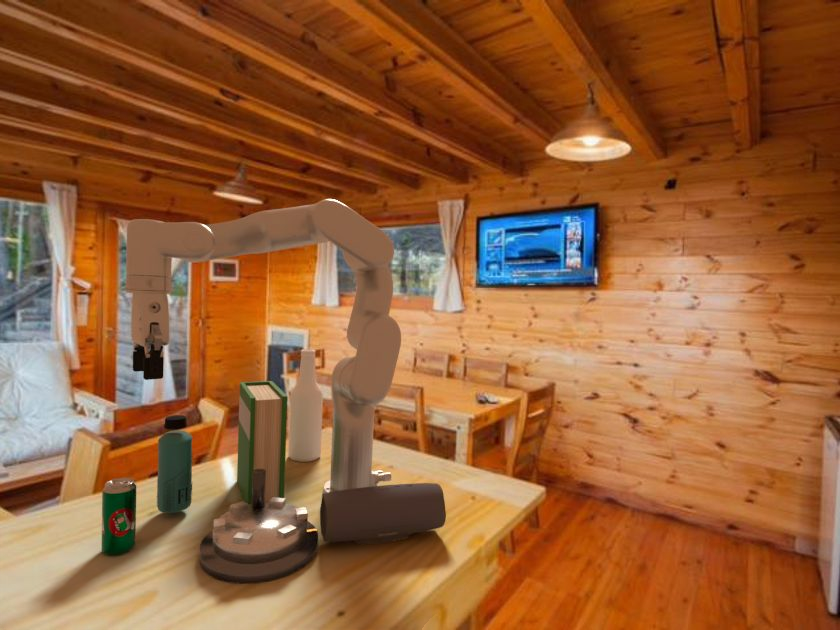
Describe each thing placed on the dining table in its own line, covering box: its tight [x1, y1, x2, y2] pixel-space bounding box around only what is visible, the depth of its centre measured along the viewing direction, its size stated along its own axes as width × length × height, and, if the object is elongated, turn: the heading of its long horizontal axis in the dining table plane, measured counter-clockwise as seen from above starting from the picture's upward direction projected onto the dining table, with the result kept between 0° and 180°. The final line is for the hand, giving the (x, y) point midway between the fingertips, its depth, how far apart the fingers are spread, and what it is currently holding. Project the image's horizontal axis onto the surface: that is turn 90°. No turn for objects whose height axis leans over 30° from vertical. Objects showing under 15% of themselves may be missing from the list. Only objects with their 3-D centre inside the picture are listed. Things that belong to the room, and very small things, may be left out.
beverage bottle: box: [156, 414, 194, 514], centre depth 99 cm, size 6×7×20 cm
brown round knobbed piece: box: [212, 469, 309, 563], centre depth 87 cm, size 16×16×10 cm
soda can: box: [100, 477, 137, 557], centre depth 85 cm, size 5×5×12 cm
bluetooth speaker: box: [319, 482, 447, 545], centre depth 93 cm, size 23×9×10 cm, turn 109°
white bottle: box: [287, 348, 324, 463], centre depth 135 cm, size 9×9×30 cm
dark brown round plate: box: [198, 520, 319, 585], centre depth 87 cm, size 20×20×2 cm
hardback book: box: [236, 380, 288, 505], centre depth 110 cm, size 18×7×24 cm, turn 27°
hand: (147, 374), depth 94 cm, fingers open, 9 cm apart
